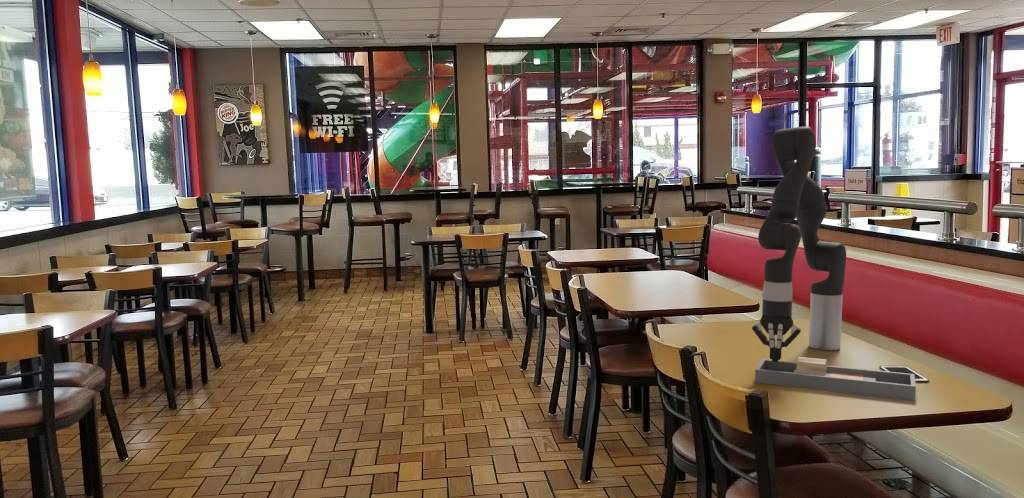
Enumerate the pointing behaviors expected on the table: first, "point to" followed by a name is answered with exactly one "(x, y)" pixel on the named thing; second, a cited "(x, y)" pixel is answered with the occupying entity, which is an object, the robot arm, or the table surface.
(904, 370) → the cell phone
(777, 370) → the channel
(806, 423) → the table surface
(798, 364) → the birch block
